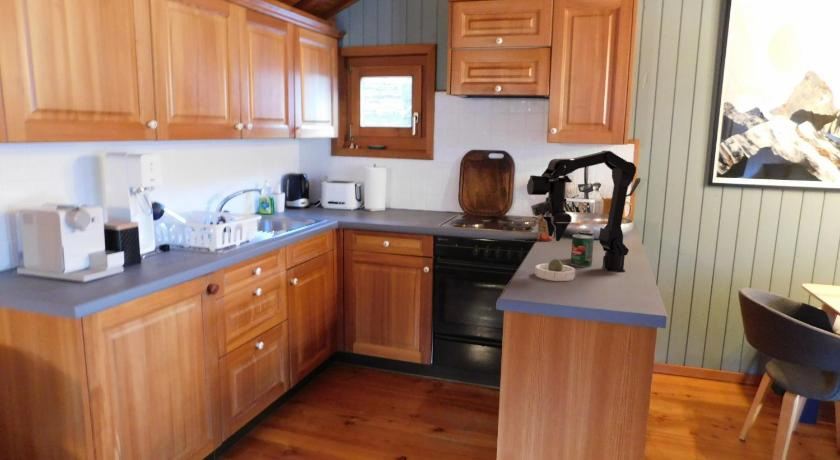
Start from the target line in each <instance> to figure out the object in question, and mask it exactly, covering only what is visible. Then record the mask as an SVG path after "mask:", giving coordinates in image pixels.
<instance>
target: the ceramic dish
mask: <svg viewBox="0 0 840 460" xmlns="http://www.w3.org/2000/svg"><path fill="white" fill-rule="evenodd" d="M548 265H549V263H539V264H536V265H535V267H534V268H535V269H534V270H535V271H534V272H535V277H537V278H539V279H542V280H547V281H554V282H568V281H569V282H570V281H573V280H574V279H575V276H576V269H575V268H574V267H573V266H569V265H566V264H562V265H563V269H562V271H561V272H554V271H549V269H548Z"/></svg>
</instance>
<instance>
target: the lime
mask: <svg viewBox="0 0 840 460" xmlns="http://www.w3.org/2000/svg"><path fill="white" fill-rule="evenodd" d="M548 264H549V265H548V269H549V271H554V272H561V271H562V269H563V265H564V264H563V262H561V260H560V259H557V258H554V259H552V260H551V261H550V262H549V263H548Z"/></svg>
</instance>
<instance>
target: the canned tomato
mask: <svg viewBox="0 0 840 460" xmlns="http://www.w3.org/2000/svg"><path fill="white" fill-rule="evenodd" d="M571 237H572V239H571V250H570V251H571V252H570V253H571V254H570V265H572V266H575V267H580V268H581V267H582V268H590V267H592V266H593V254H594V242H595V241H594V240H595V237H594V235H593V236H590V235H582V234H578V233H577V234H572V236H571Z"/></svg>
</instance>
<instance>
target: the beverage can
mask: <svg viewBox="0 0 840 460" xmlns="http://www.w3.org/2000/svg"><path fill="white" fill-rule="evenodd" d="M577 234H582V235H590V236H593V237H594V232H593V229H591V228H584V227H583V228H579V230H578V233H577Z"/></svg>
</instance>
